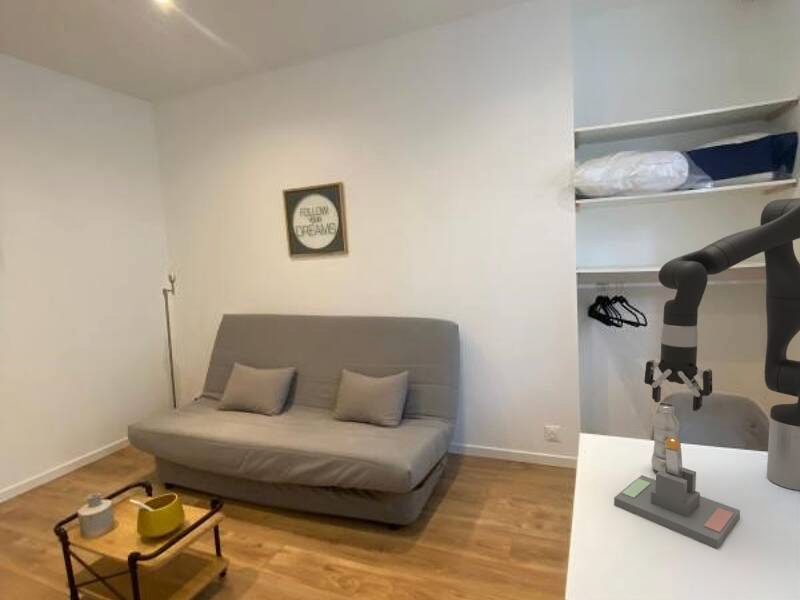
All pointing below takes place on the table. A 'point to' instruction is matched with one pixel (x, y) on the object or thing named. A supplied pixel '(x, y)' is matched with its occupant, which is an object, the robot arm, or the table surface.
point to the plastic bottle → (663, 434)
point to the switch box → (679, 507)
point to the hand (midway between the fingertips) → (675, 405)
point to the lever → (674, 457)
